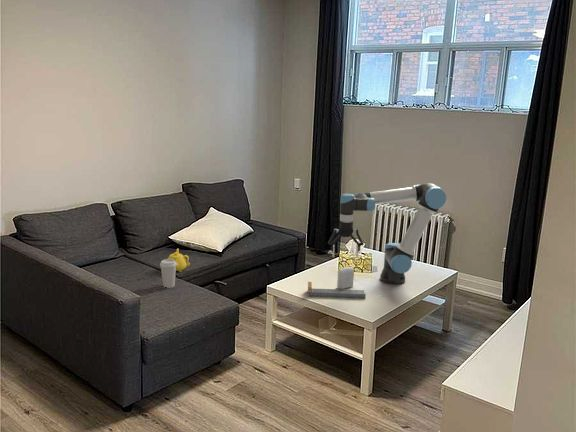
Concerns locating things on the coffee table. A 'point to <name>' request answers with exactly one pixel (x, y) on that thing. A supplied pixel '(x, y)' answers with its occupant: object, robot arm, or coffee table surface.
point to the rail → (335, 293)
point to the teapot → (179, 260)
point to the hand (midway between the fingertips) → (345, 256)
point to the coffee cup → (168, 272)
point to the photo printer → (345, 277)
